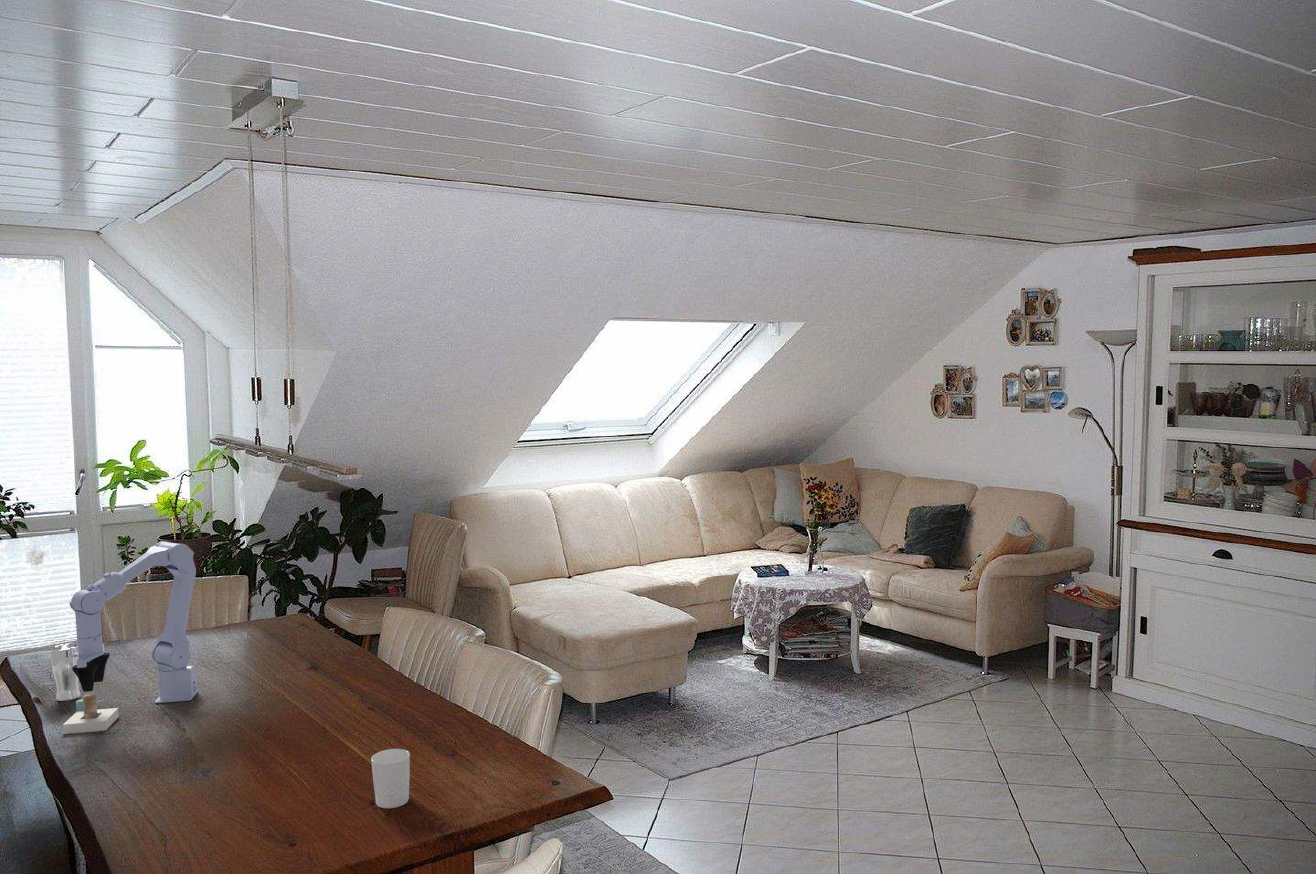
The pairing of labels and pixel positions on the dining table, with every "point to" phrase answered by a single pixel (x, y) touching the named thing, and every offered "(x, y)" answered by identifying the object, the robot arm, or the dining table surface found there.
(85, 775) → the dining table surface
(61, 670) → the beer glass
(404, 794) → the white cup
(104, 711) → the collar block
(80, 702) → the short teal pin
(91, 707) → the long beech pin
